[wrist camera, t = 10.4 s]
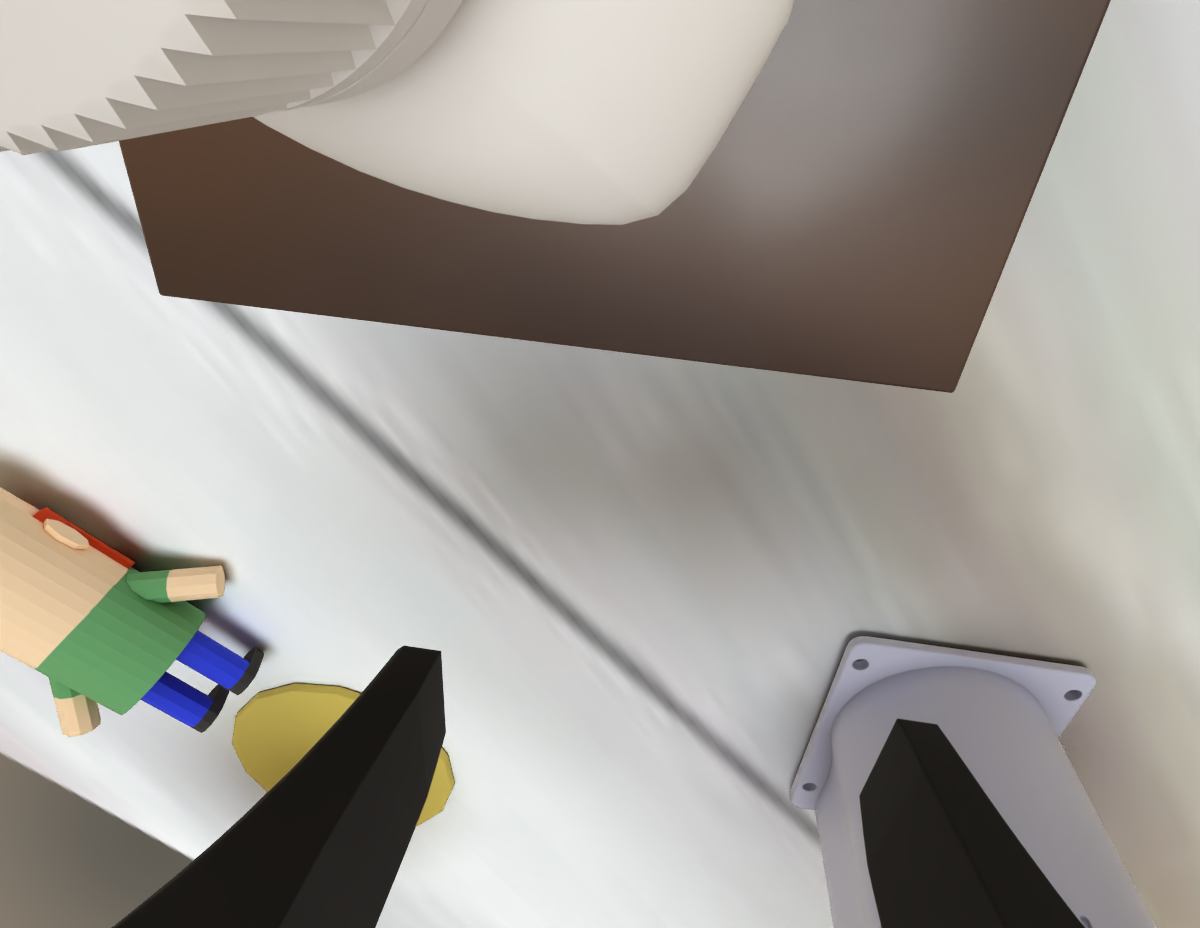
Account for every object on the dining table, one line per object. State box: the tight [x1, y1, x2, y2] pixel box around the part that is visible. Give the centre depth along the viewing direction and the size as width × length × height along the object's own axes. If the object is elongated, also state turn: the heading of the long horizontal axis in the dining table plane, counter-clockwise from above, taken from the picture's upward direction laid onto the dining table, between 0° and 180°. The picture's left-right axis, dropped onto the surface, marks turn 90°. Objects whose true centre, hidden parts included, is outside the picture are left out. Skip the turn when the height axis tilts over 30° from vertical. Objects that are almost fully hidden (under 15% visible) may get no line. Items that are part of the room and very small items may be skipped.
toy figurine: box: [0, 488, 264, 737], centre depth 24 cm, size 8×4×12 cm
